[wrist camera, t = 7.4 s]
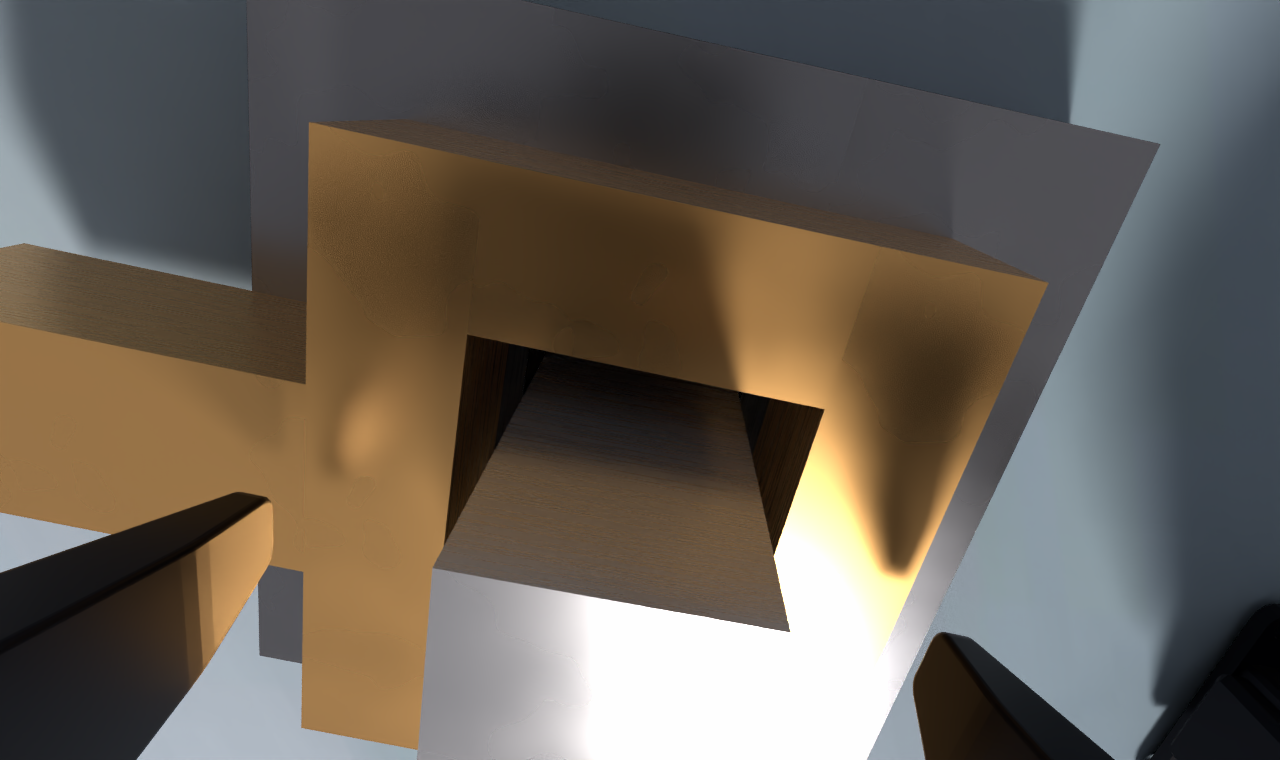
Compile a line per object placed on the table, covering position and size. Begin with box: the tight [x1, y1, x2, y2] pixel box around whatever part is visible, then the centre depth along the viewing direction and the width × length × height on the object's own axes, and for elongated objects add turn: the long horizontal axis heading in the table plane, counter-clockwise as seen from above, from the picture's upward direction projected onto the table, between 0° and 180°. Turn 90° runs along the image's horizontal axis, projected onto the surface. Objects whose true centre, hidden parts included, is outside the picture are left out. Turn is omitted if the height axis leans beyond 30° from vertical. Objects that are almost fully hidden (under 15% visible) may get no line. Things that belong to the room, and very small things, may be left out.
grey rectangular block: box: [417, 351, 791, 760], centre depth 11 cm, size 3×4×9 cm
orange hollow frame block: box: [0, 0, 1160, 760], centre depth 12 cm, size 18×14×6 cm
